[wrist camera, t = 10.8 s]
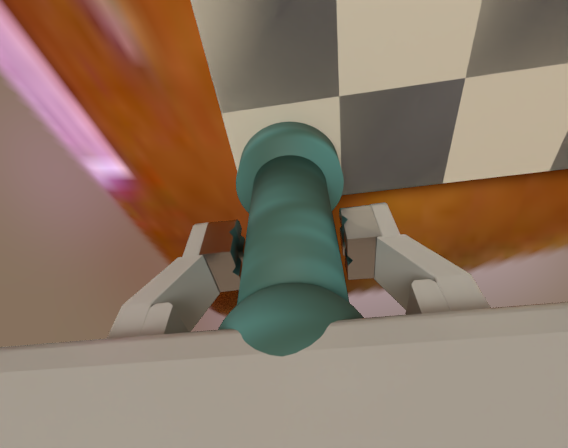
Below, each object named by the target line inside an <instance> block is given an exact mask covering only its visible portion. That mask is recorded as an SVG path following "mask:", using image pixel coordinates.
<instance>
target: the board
mask: <svg viewBox="0 0 568 448" xmlns="http://www.w3.org/2000/svg"><path fill="white" fill-rule="evenodd" d="M191 4H192V7H193V11H194V15H195V18H196V22H197V26H198V29H199V33H200V37H201V40H202V44H203V48H204V51H205V55H206V59H207V62H208V66H209V70H210V73H211V77H212V80H213V84H214V88H215V91H216V95H217V99H218V102H219V106H220V110H221V113H222V117H223V121H224V124H225V128H226V132H227V135H228V139H229V143H230V146H231V150H232V154H233V157H234V161H235V165H236V168H237V172H238V168H239V163H240V159H241V155H242V152H243V150H244V147H245V146H246V144H247V142H248V141H249V140H250V139H251V138H252V137H253V136H254V135H255V134H256V133H257V132H258V131H260V130H261V129H263V128H265V127H267V126H269V125H272V124H275V123H280V122H300V123H304V124H307V125H310V126H313V127H315V128H317V129H318V130H320V131H321V132H323V133H324V134H325V135H326V136H327V137H328V138H329V139H330V141H331V142H332V144H333V145H334V147H335V149H336V152H337V155H338V159H339V162H340V166H341V170H342V173H343V179H344V187H343V192H342V195H347V194H356V193H364V192H373V191H382V190H390V189H399V188H407V187H416V186H424V185H433V184H442V183H450V182H459V181H467V180H476V179H484V178H493V177H501V176H510V175H519V174H527V173H536V172H544V171H553V170H561V169H568V0H191Z"/></svg>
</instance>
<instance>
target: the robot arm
mask: <svg viewBox="0 0 568 448" xmlns="http://www.w3.org/2000/svg"><path fill="white" fill-rule="evenodd" d="M339 217H340V223H341V227H340V237H341V246H342V252H343V255H344V256H345V267H346V272H347V276H348V280H352V279H367V278H374V279H375V280H376V281H377V282H378V283H379V284H380V285H381V286H382V287H383V288H384V289H385V290H386V291H387V292H388V293H389V294H390V295H391V296H392V297H393V298H394V299H395V300H396V301H397V302H398V303H399V304H400V305H401V306H402V307H403V308H404V309H405V310H406V315H398V316H385V317H372V318H360V319H347V320H338V321H335V322H333V323H331V324H330V325H329V326H328V327H327V328H326V330H325V332H324V334H323V335H322V336H321V337H320V338H319V339H318V340H317V341H316V342H314V343H313V344H312V345H311V346H309V347H307V348H305V349H303V350H301V351H299V352H297V353H294V354H291V355H287V356H283V357H281V356H274V355H268V354H266V353H263V352H260V351H258V350H255V349H254V348H252V347H251V346H250V345H248V344H247V343H246V342H245V341H244V340H243V338H242V336H241V334H240V333H239V332H238V331H237V330H235V329H222V330H211V331H210V330H209V331H197V332H191V330H192V329H193V328H194V326H195V325H196V324H197V323H198V321H199V320H200V319H201V317H202V316H203V315H204V313H205V312H206V311H207V309H208V308H209V307H210V305H211V304H212V303H213V302H214V300H215V299H216V298H217V296H218V295H219V294H220V293H219V292H225V291H233V290H239V286H240V279H241V272H242V264H243V257H244V249H245V238H244V237H242V236H241V230H242V228H241V225H240V223H239V221H238V220H229V221H218V222H210V223H199V224H195V225H194V226H193V228H192V230H191V233H190V236H189V239H188V242H187V245H186V248H185V251H184V254H183V256H182V257H178V258H177V259H176V260H175V261H174V262H172V263H171V264H170V265H169V266H168V267H167V268H165V269H164V270H163V271H162V272H161V273H159V274H158V275H157V276H156V277H155V278H154V279H152V280H151V281H150V282H149V283H148V284H147V285H145V286H144V287H143V288H142V289H141V290H140V291H138V292H137V293H136V294H135V295H134V296H133V297H132V298H130V299H129V300H128V301H127V302H126V303H124V304H123V305H122V307H121V309H120V311H119V314H118V316H117V318H116V320H115V322H114V324H113V326H112V328H111V330H110V333H109V335H108V337H107V339H98V340H84V341H72V342H59V343H47V344H34V345H23V346H9V347H0V448H568V302H561V303H548V304H536V305H524V306H511V307H500V308H499V307H498V308H491V307H490V306H489V304H488V302H487V301H486V299H485V298H484V296H483V294H482V292H481V291H480V289H479V287H478V286H477V284H476V282H475V281H474V279H473V277H472V276H471V274H469V273H468V272H466V271H464V270H463V269H461V268H460V267H458V266H456V265H455V264H453V263H451V262H450V261H448V260H446V259H445V258H443V257H441V256H440V255H438V254H437V253H435V252H433V251H432V250H430V249H428V248H427V247H425V246H423V245H422V244H420V243H418V242H417V241H415V240H414V239H412V238H410V237H409V236H407V235H405V234H402V235H400V233H399V230H398V228H397V226H396V224H395V221H394V219H393V217H392V214H391V212H390V210H389V207H388V205H387V204H386V203H385V202H384V203H377V204H370V205H365V206H357V207H348V208H340V210H339Z"/></svg>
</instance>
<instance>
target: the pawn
mask: <svg viewBox="0 0 568 448" xmlns="http://www.w3.org/2000/svg"><path fill="white" fill-rule="evenodd" d="M343 187H344V179H343V173H342V170H341V166H340V162H339V159H338V155H337V152H336V149H335V147H334V145H333V144H332V142H331V141H330V139H329V138H328V137H327V136H326V135H325V134H324V133H323V132H321V131H320V130H318V129H317V128H315V127H313V126H310V125H307V124H304V123H300V122H280V123H275V124H272V125H269V126H267V127H265V128H263V129H261V130H260V131H258V132H257V133H256V134H255V135H254V136H253V137H252V138H251V139H250V140H249V141H248V142H247V144H246V146H245V147H244V150H243V152H242V155H241V159H240V163H239V168H238V173H237V178H236V190H237V194H238V197H239V200H240V202H241V204H242V205H243V207H244V208H245V209H246V211H247V212H248V213H249V220H248V227H247V235H246V242H245V249H244V257H243V264H242V272H241V279H240V286H239V294H238V301H237V306H236V307H234V309H233V310H232V311H231V312H230V313H229V314H228V315H227V317H226V318H225V319H224V320H223V322H222V324H221V325H220V327H219V329H218V330H222V329H235V330H237V331H238V332H239V333H240V334H241V336H242V338H243V340H244V341H245V342H246V343H247V344H248V345H250V346H251V347H252V348H254V349H255V350H258V351H260V352H263V353H266V354H268V355H274V356H281V357H283V356H287V355H291V354H294V353H297V352H299V351H301V350H303V349H305V348H307V347H309V346H311V345H312V344H313V343H314V342H316V341H317V340H318V339H319V338H320V337H321V336H322V335H323V334H324V332H325V330H326V328H327V327H328V326H329V325H330V324H331V323H333V322H335V321H338V320H347V319H360V318H364V317H363V316H362V315H361V314H360V313H359V312H358V311H357V310H356V309H355V308H354V306H352V305H351V304H350V303H349V299H348V293H347V288H346V283H345V278H344V272H343V267H342V262H341V257H340V251H339V246H338V241H337V236H336V230H335V225H334V220H333V215H332V210H333V209H334V208H335V207H336V205H337V204H338V202H339V200H340V198H341V195H342V192H343Z"/></svg>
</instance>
